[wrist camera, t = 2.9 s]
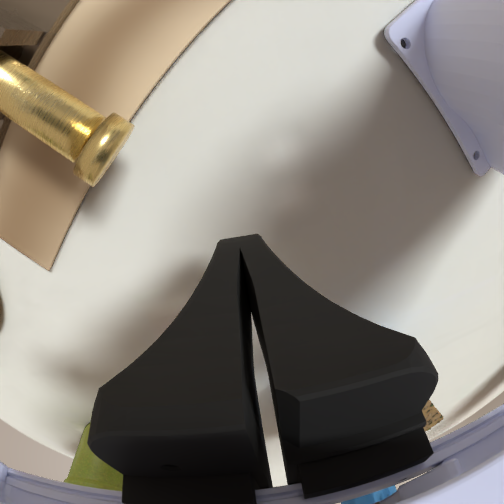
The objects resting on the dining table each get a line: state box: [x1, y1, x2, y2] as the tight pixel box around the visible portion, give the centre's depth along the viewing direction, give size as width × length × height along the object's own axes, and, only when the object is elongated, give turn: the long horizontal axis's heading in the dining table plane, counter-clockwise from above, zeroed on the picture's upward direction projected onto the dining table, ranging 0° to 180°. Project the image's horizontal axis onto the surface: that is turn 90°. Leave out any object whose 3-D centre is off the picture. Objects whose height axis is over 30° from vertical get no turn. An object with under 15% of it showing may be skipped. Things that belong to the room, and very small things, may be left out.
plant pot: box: [64, 423, 123, 491], centre depth 22 cm, size 9×9×9 cm
